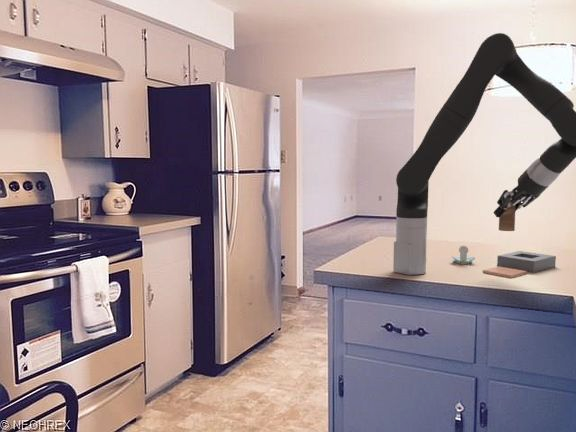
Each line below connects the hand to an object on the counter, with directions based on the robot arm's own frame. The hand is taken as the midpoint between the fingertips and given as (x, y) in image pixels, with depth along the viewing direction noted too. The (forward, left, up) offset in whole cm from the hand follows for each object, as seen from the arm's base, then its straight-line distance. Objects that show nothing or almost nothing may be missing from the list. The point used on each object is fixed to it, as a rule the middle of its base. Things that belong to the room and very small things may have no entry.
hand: (501, 214), depth 150 cm
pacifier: (+4, +15, -18) cm, 24 cm away
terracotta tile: (0, -2, -18) cm, 18 cm away
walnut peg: (0, -2, -5) cm, 5 cm away
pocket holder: (+15, -1, -18) cm, 23 cm away
